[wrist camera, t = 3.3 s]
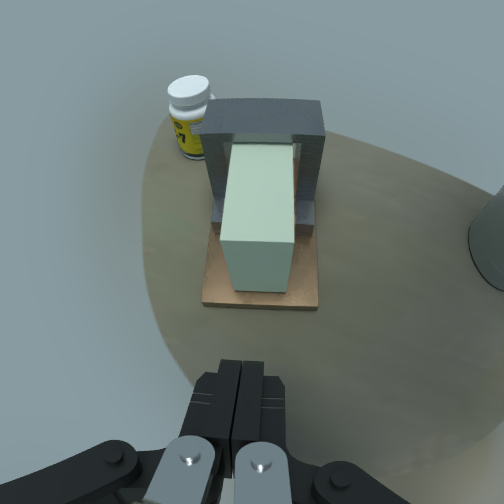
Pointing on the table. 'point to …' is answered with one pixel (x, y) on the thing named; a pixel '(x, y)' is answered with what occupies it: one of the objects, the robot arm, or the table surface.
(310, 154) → the base
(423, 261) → the table surface
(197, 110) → the supplement bottle
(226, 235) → the mint green block
